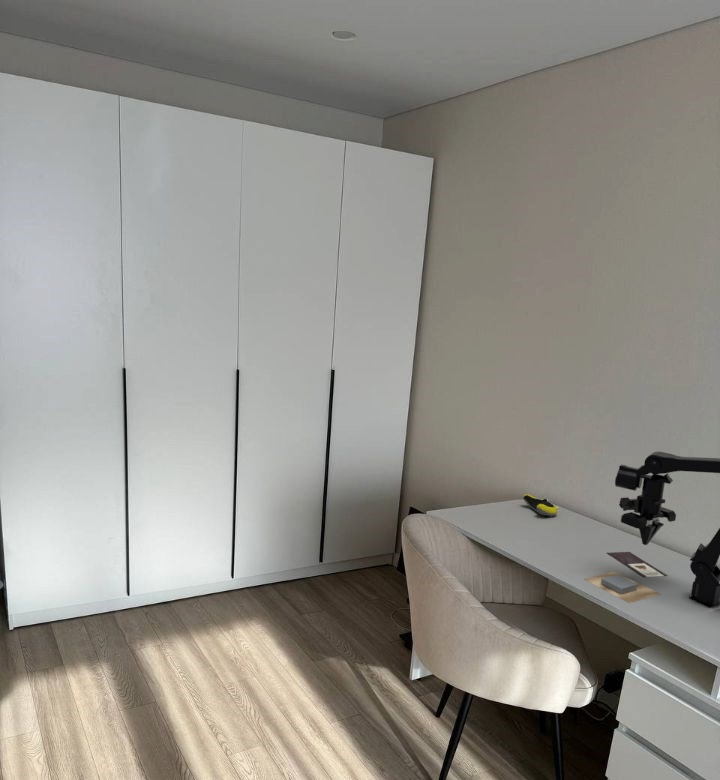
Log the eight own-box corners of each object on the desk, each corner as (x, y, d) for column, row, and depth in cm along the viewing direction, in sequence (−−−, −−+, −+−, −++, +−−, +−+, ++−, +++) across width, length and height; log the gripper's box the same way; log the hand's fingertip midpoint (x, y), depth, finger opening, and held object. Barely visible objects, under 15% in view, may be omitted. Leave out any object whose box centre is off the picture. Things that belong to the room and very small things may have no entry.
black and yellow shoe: (537, 519, 246) (561, 519, 248) (539, 505, 245) (563, 505, 247) (519, 506, 260) (542, 505, 262) (521, 492, 259) (544, 492, 262)
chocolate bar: (629, 551, 218) (667, 575, 201) (629, 554, 219) (667, 578, 201) (606, 552, 216) (643, 576, 199) (606, 555, 216) (642, 579, 199)
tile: (637, 584, 189) (621, 588, 185) (636, 590, 189) (620, 594, 186) (617, 574, 195) (601, 578, 191) (616, 580, 195) (600, 584, 192)
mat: (660, 595, 188) (660, 594, 188) (629, 604, 181) (629, 603, 181) (614, 572, 202) (614, 571, 201) (583, 580, 194) (583, 579, 194)
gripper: (647, 483, 203) (640, 530, 206) (608, 489, 194) (602, 539, 196) (680, 494, 194) (672, 543, 197) (642, 501, 184) (634, 553, 187)
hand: (644, 544), depth 194 cm, fingers closed
